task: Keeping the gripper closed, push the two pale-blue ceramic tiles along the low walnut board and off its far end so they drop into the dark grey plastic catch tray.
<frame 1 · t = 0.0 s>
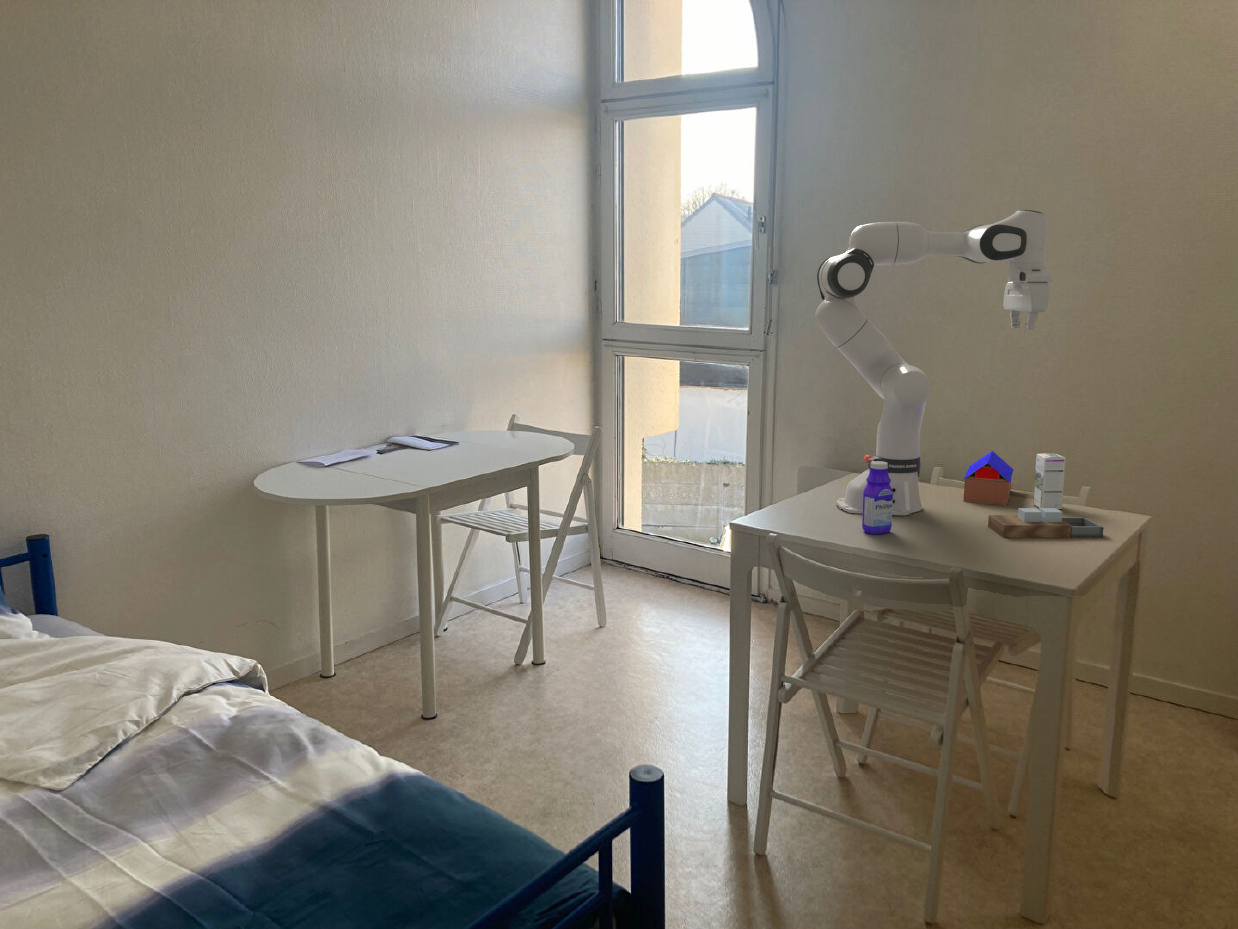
hand: (1022, 328, 248), 48 cm above the table, fingers open, 8 cm apart
house: (987, 497, 271), on the table
board: (1028, 531, 232), on the table
syrup box: (1046, 508, 257), on the table
bottle: (876, 532, 233), on the table
tile b: (1029, 520, 232), point 3 cm above the table, touching board
tray: (1077, 532, 232), on the table
tile a: (1049, 520, 232), point 3 cm above the table, touching board
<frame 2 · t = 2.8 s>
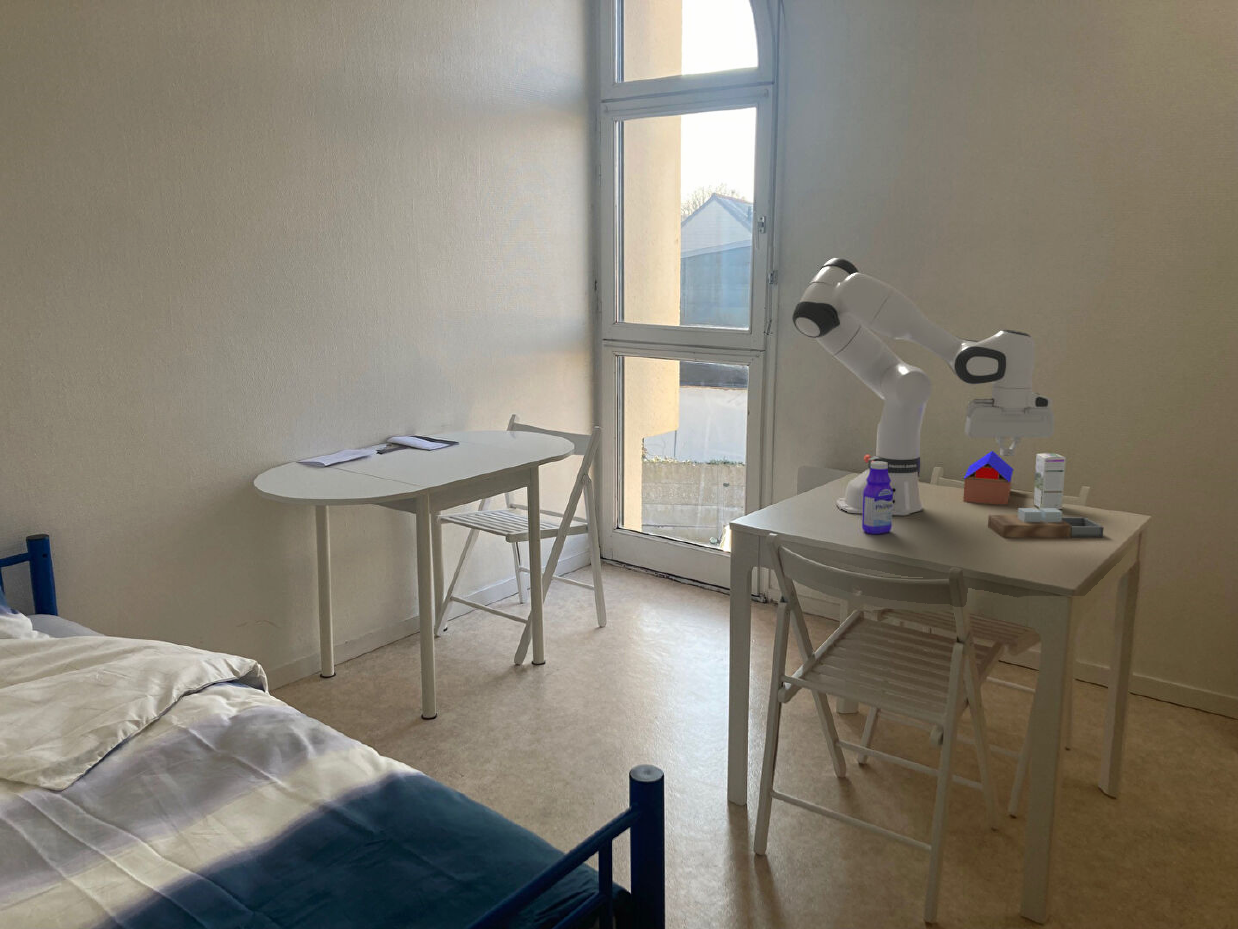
hand: (1007, 455, 229), 19 cm above the table, fingers closed
nothing on the table moved.
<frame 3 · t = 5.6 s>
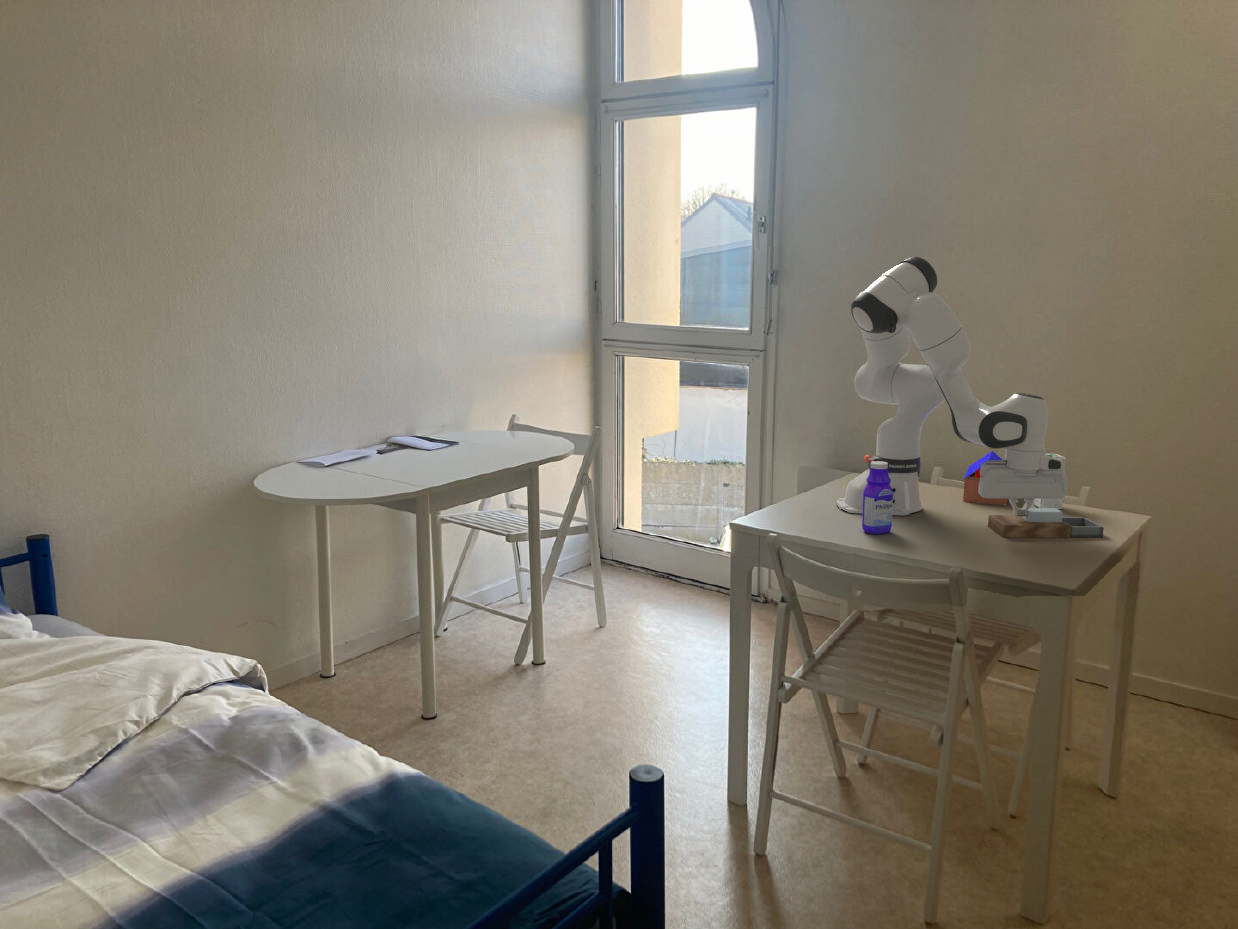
hand: (1019, 515, 231), 4 cm above the table, fingers closed
tile b: (1033, 520, 232), point 3 cm above the table, touching board, gripper, tile a
tile a: (1049, 520, 232), point 3 cm above the table, touching board, tile b
everything else where it was.
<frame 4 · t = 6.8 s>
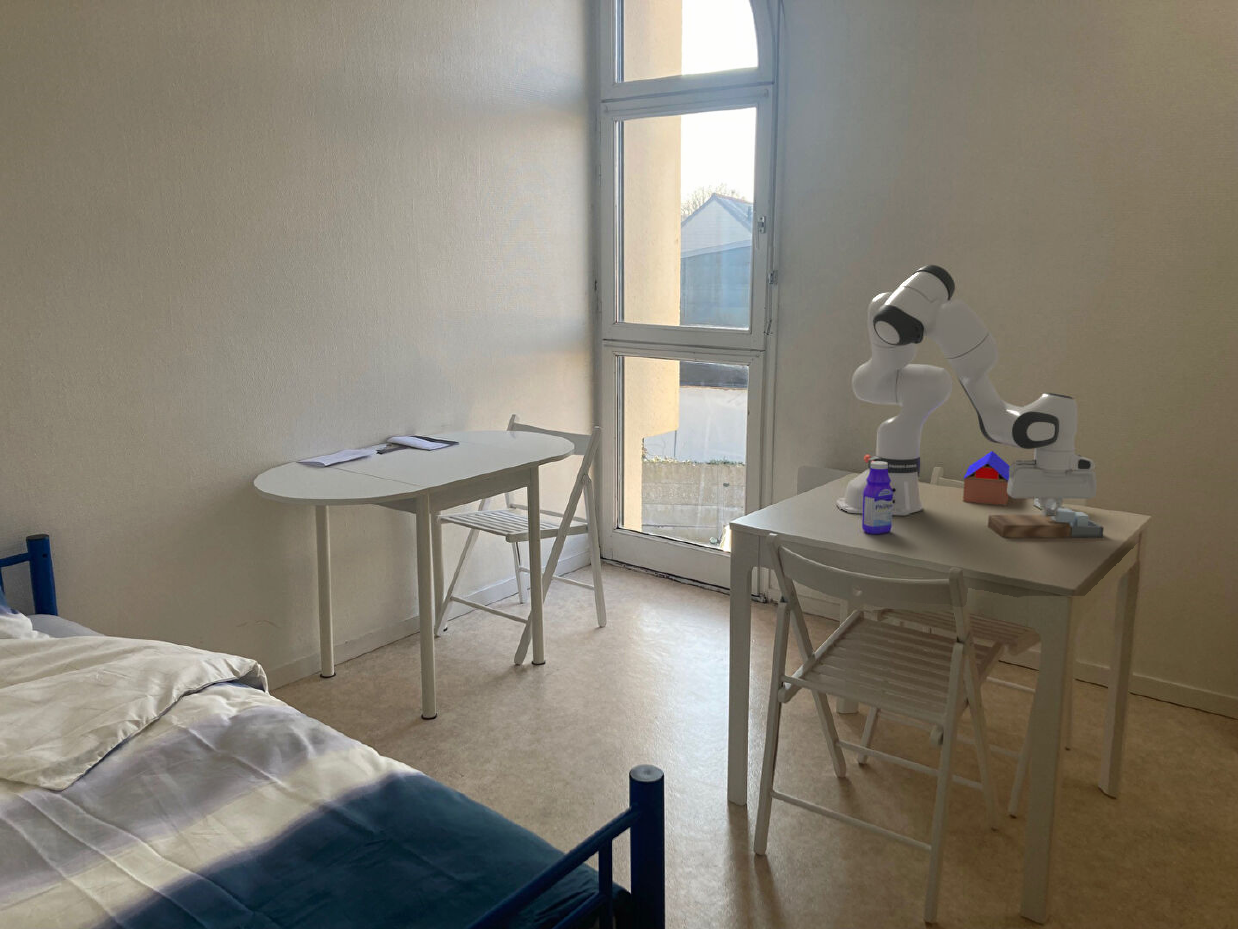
hand: (1048, 515, 231), 4 cm above the table, fingers closed
tile b: (1062, 520, 232), point 3 cm above the table, touching board, gripper
tile a: (1074, 521, 232), point 3 cm above the table, tilted 91°, touching tray
everything else where it was.
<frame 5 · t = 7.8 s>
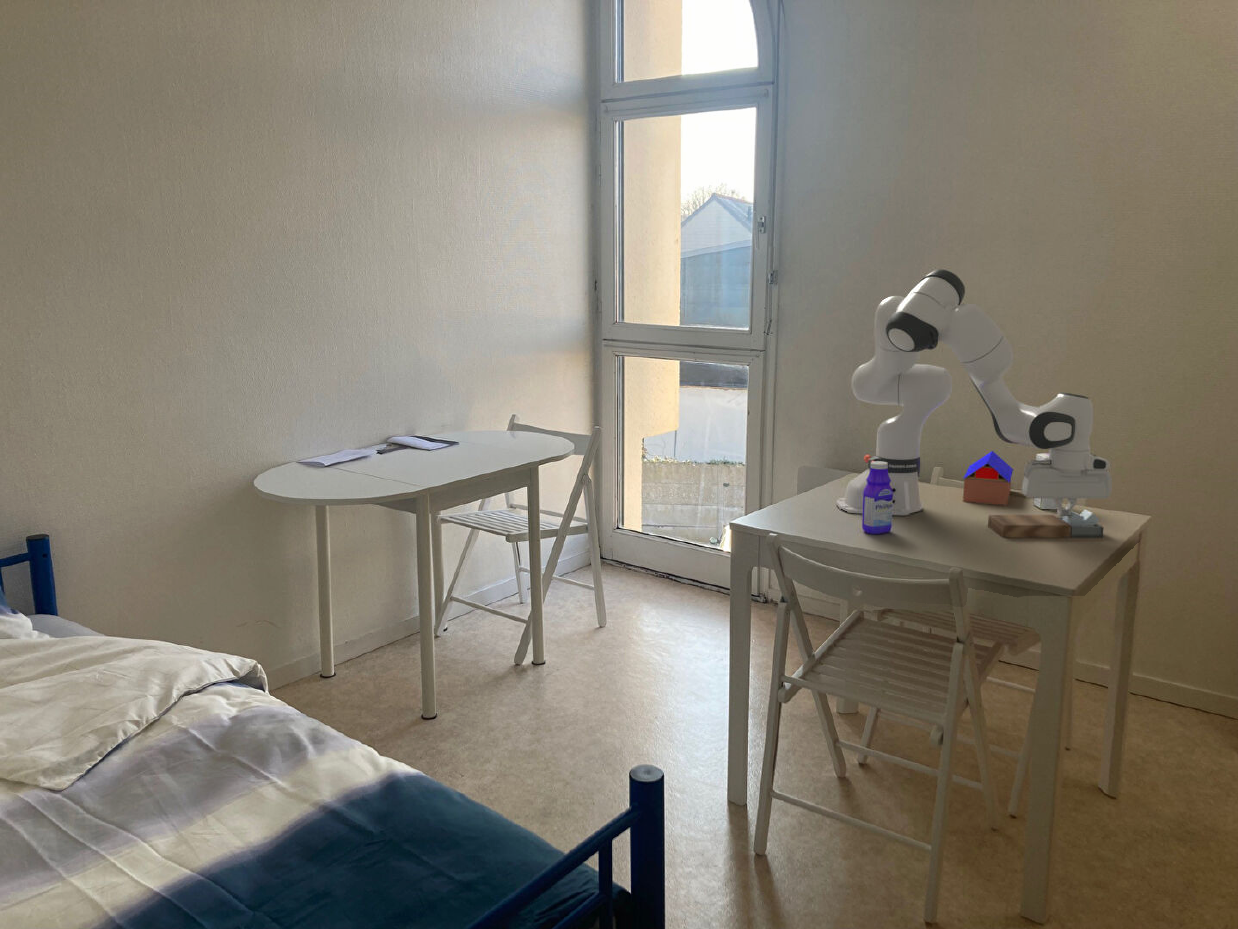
hand: (1063, 515, 231), 4 cm above the table, fingers closed
tile b: (1076, 522, 232), point 2 cm above the table, tilted 69°, touching gripper, tile a, tray
tile a: (1082, 517, 231), point 4 cm above the table, tilted 132°, touching tile b, tray
everything else where it was.
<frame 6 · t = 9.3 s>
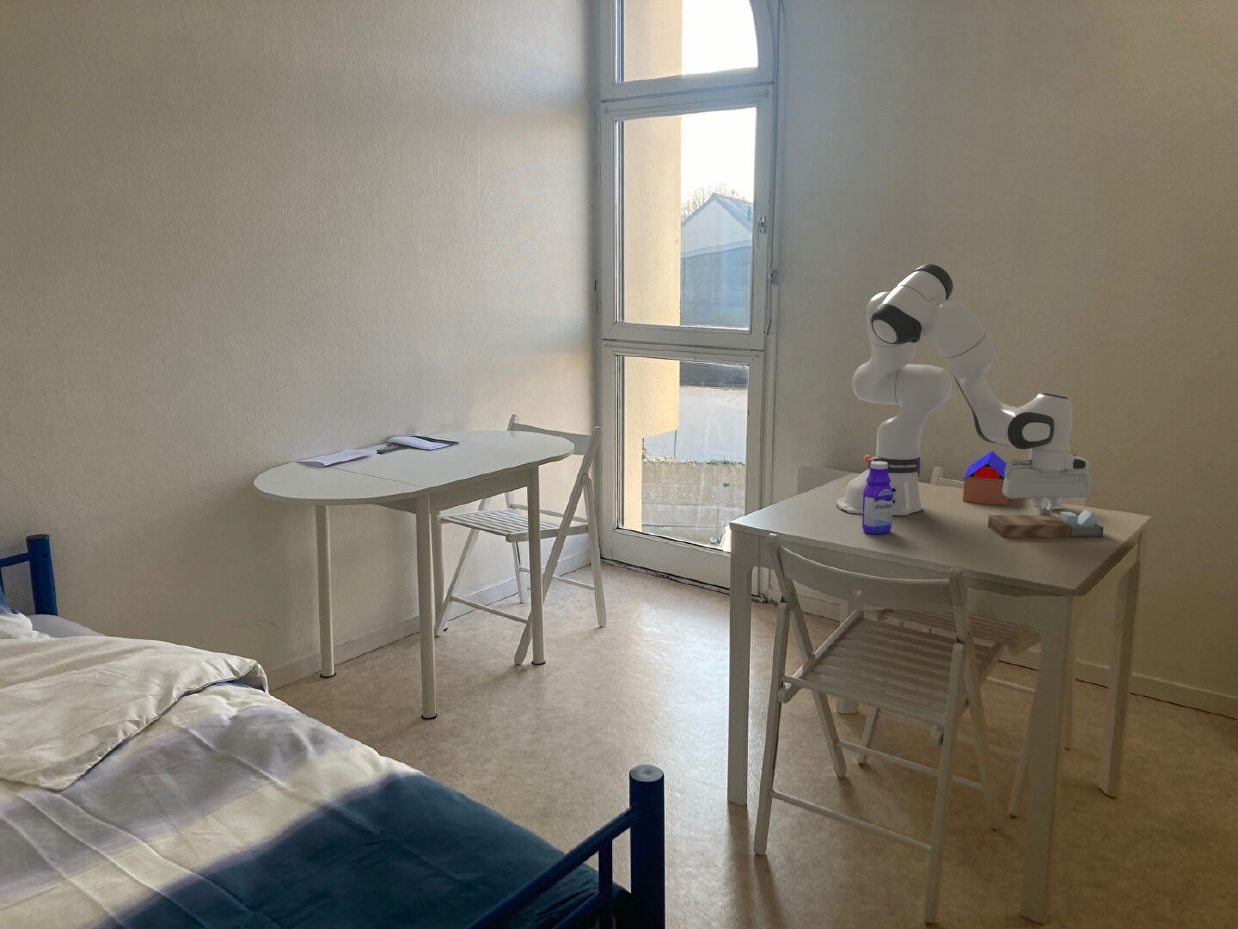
hand: (1044, 515, 232), 4 cm above the table, fingers closed
tile b: (1073, 521, 232), point 3 cm above the table, tilted 90°, touching tray
tile a: (1082, 517, 231), point 4 cm above the table, tilted 130°, touching tray
everything else where it was.
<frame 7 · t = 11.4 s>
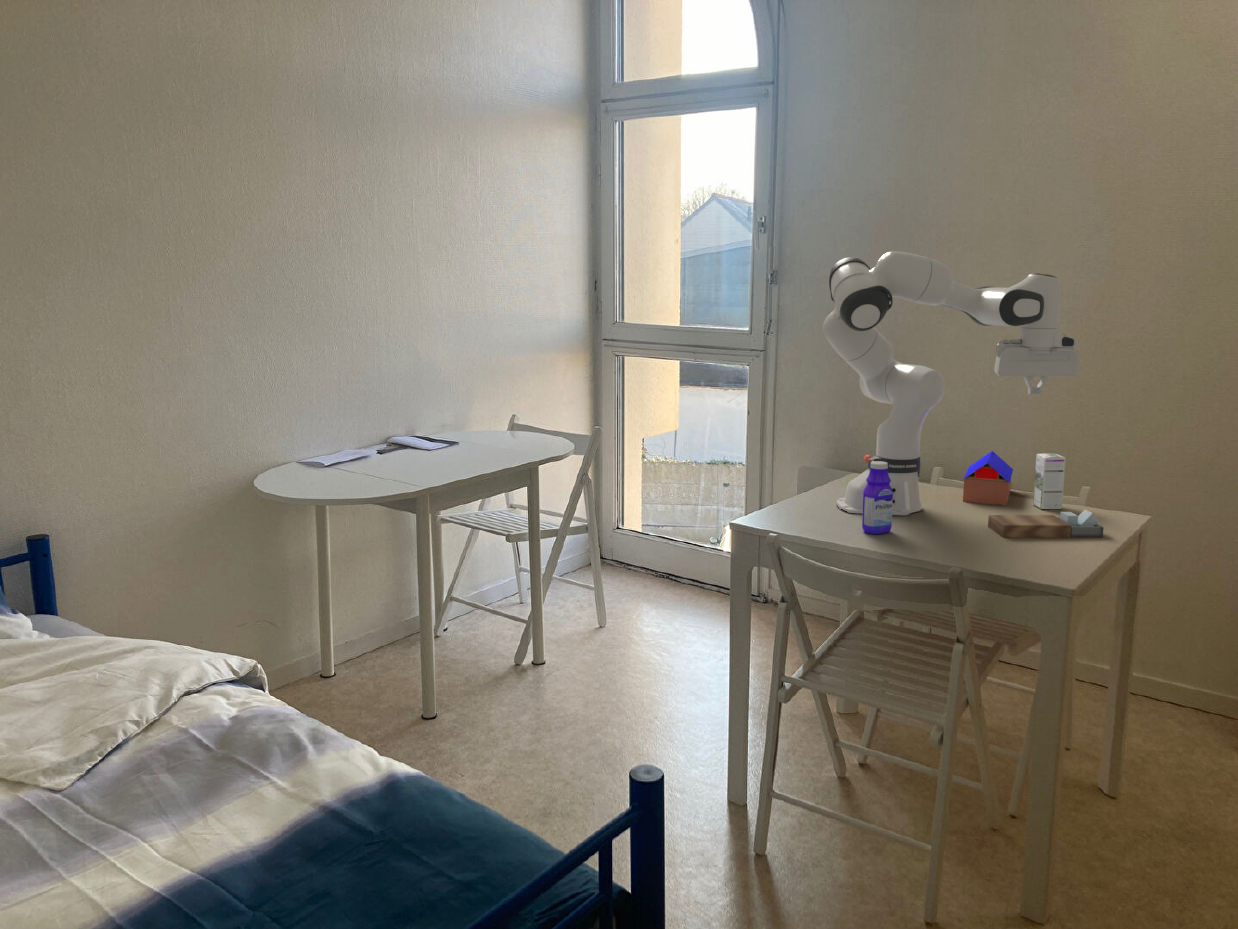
hand: (1034, 393, 242), 32 cm above the table, fingers closed
nothing on the table moved.
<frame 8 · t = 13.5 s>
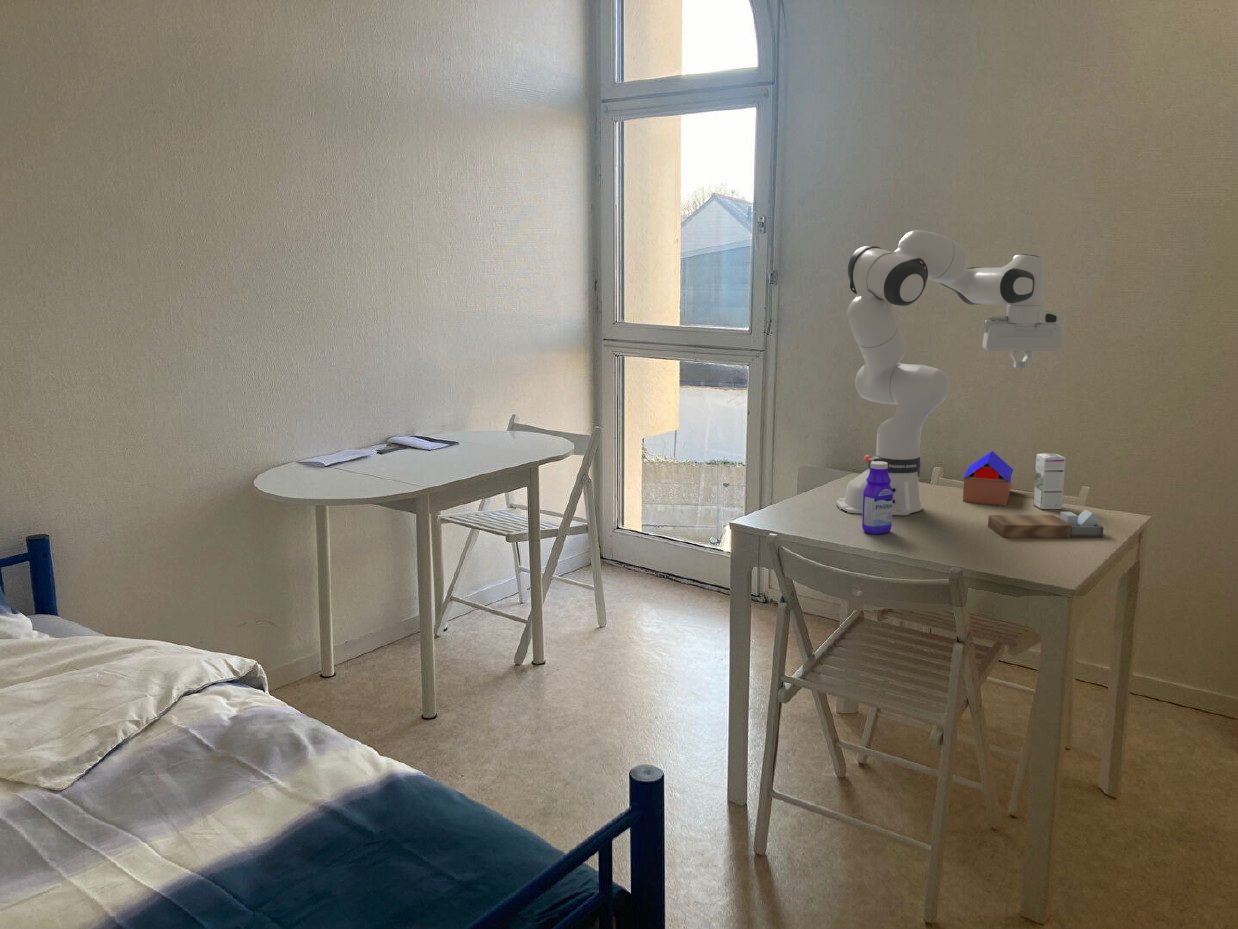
hand: (1019, 367, 257), 37 cm above the table, fingers closed
nothing on the table moved.
at the end: tile a inside the target area (0.1 cm from its centre), point 3.7 cm above the table; tile b inside the target area (2.2 cm from its centre), point 2.6 cm above the table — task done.
